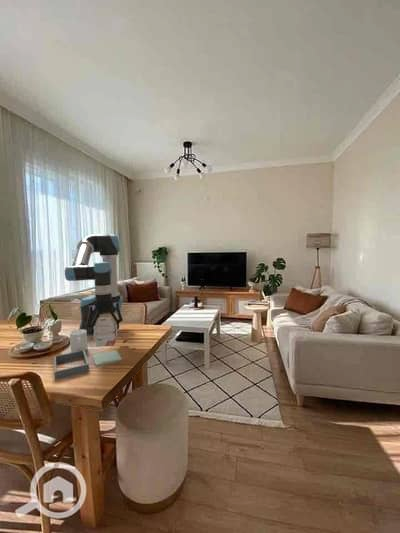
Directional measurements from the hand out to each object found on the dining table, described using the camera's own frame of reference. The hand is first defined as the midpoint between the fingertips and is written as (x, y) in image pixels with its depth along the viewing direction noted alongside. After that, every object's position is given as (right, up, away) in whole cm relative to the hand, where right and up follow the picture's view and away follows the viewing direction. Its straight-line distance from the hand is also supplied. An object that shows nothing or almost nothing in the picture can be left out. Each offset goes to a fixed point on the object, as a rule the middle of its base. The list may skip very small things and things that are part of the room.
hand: (105, 337), depth 124 cm
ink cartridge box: (0, -4, 0) cm, 4 cm away
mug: (-18, -11, +11) cm, 24 cm away
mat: (0, -11, +1) cm, 11 cm away
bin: (-14, -12, -7) cm, 19 cm away
